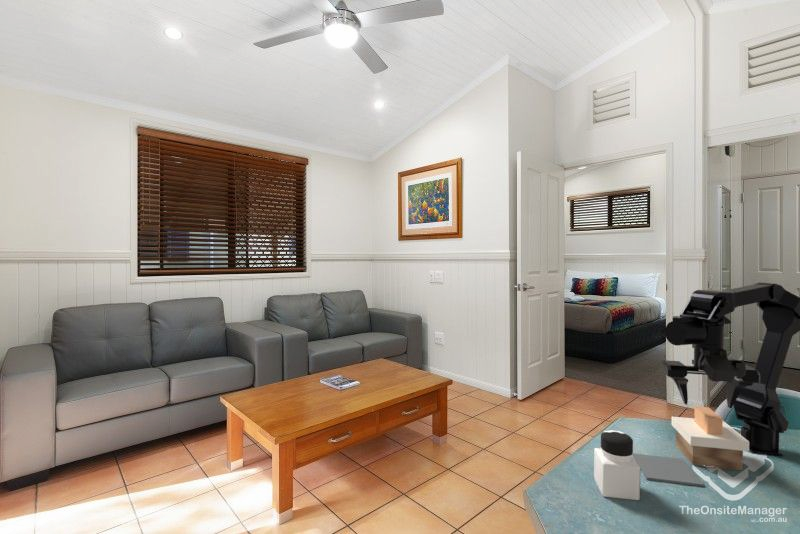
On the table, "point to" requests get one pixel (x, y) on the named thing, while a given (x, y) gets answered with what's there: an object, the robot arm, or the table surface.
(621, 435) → the medicine bottle
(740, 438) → the lid
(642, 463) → the rubber mat
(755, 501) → the table surface
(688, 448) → the walnut box
